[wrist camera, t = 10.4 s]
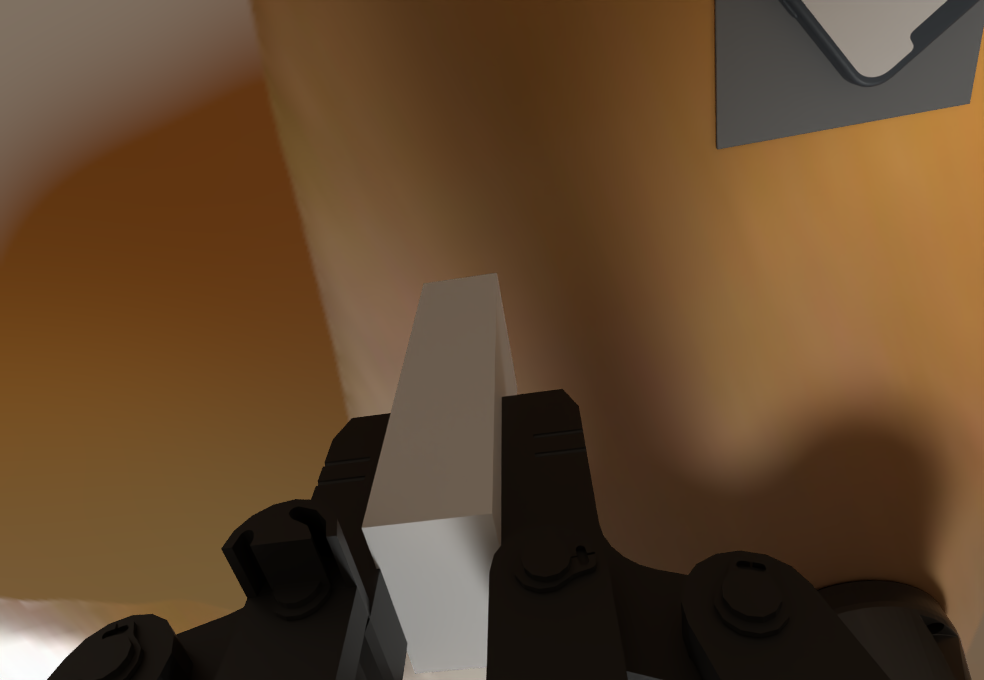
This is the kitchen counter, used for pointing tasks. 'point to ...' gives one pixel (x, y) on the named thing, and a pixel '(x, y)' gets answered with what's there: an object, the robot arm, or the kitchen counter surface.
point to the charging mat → (823, 76)
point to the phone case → (874, 32)
